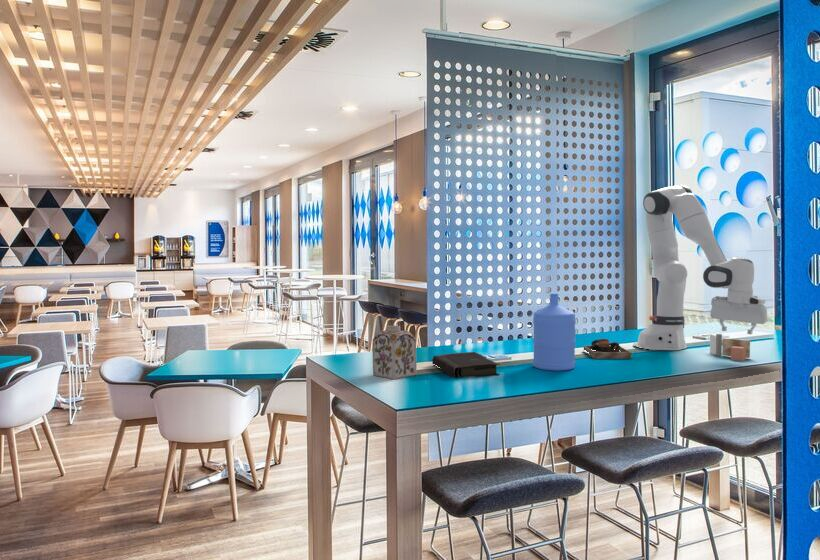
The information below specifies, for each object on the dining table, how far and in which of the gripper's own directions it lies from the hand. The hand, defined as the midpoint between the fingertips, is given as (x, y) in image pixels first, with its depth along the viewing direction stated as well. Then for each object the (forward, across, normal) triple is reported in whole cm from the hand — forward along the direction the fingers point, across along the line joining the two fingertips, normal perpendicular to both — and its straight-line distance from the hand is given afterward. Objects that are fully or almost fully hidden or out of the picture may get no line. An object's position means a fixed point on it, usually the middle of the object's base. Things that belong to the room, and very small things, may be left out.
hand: (736, 332), depth 253 cm
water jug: (+15, -48, -59) cm, 78 cm away
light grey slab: (+11, -9, +6) cm, 16 cm away
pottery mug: (+14, -44, -24) cm, 52 cm away
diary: (+17, -72, -84) cm, 112 cm away
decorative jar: (+18, -86, -108) cm, 139 cm away
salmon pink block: (+11, +1, 0) cm, 11 cm away
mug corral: (+14, -44, -22) cm, 51 cm away
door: (+10, -1, +4) cm, 11 cm away
